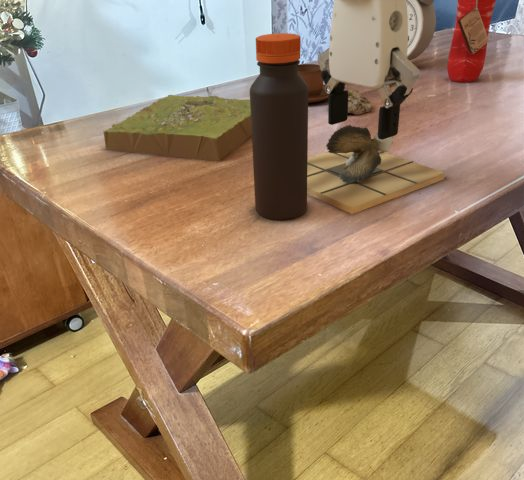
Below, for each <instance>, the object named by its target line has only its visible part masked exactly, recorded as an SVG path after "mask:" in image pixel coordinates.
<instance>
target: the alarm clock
mask: <svg viewBox="0 0 524 480" xmlns="http://www.w3.org/2000/svg"><path fill="white" fill-rule="evenodd" d="M434 2H435V0H406V4H407V18H408V48H407V58H408V59H409V60H410V61H411V60H414V59H417V58H418V57H420V55H423V54H424V52H425V51H426V50H427V48H428V47H429V46H430V44H431V42H432V40H433V39H434V35H435V31H436V27H437V14H436V8H435V6H434Z"/></svg>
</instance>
